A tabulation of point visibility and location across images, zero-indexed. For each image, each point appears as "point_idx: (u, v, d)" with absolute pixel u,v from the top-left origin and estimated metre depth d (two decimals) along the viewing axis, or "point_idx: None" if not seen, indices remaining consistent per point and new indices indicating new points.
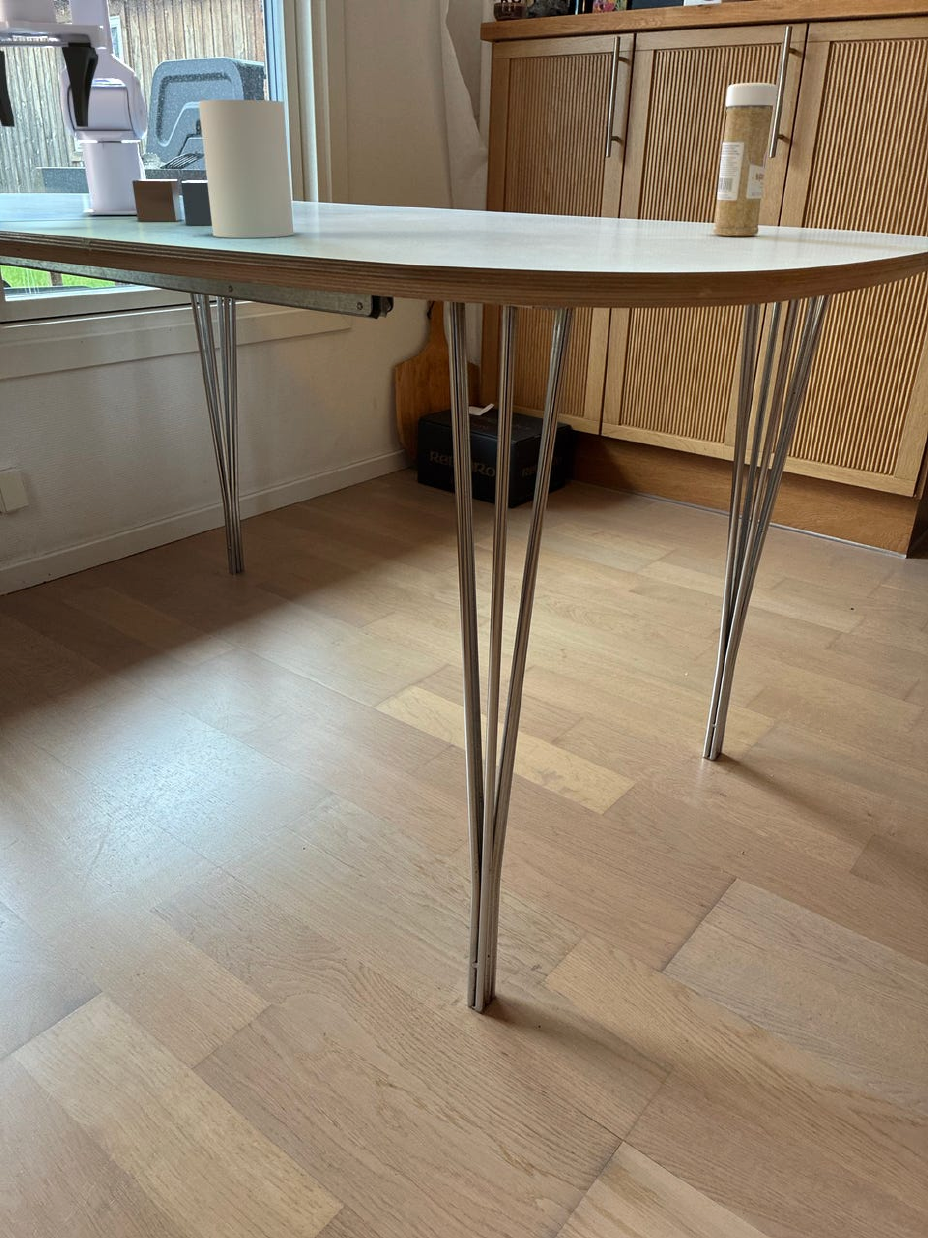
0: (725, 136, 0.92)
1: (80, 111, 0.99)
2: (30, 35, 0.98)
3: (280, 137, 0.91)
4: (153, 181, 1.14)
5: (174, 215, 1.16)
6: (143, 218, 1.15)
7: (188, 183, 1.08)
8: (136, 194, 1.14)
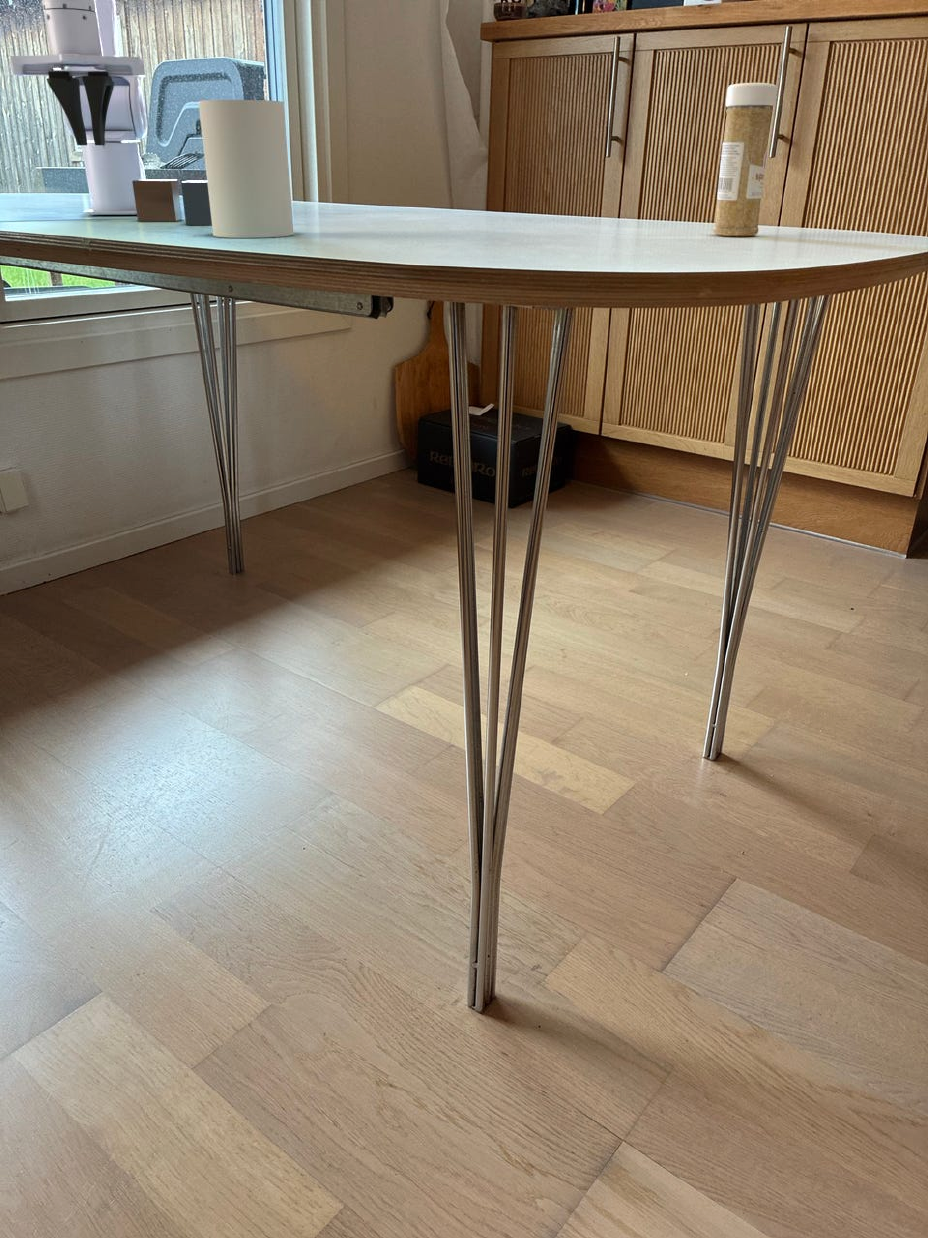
0: (725, 136, 0.92)
1: (98, 132, 1.12)
2: (78, 65, 1.11)
3: (280, 137, 0.91)
4: (153, 181, 1.14)
5: (174, 215, 1.16)
6: (143, 218, 1.15)
7: (188, 183, 1.08)
8: (136, 194, 1.14)
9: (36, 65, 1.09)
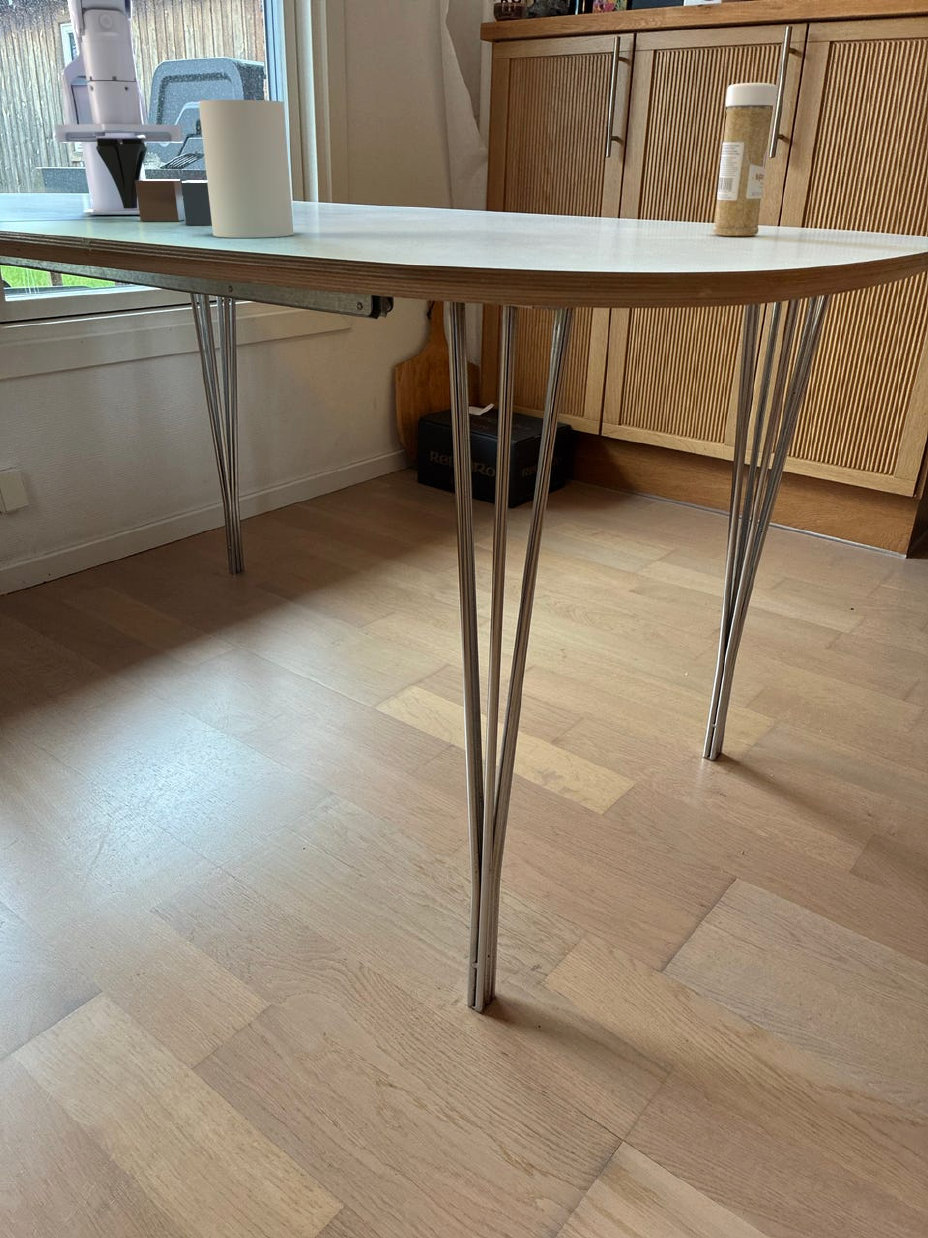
0: (725, 136, 0.92)
1: (131, 196, 1.15)
2: (119, 131, 1.15)
3: (280, 137, 0.91)
4: (156, 181, 1.14)
5: (177, 215, 1.16)
6: (146, 218, 1.15)
7: (188, 183, 1.08)
8: (139, 194, 1.14)
9: (79, 133, 1.12)
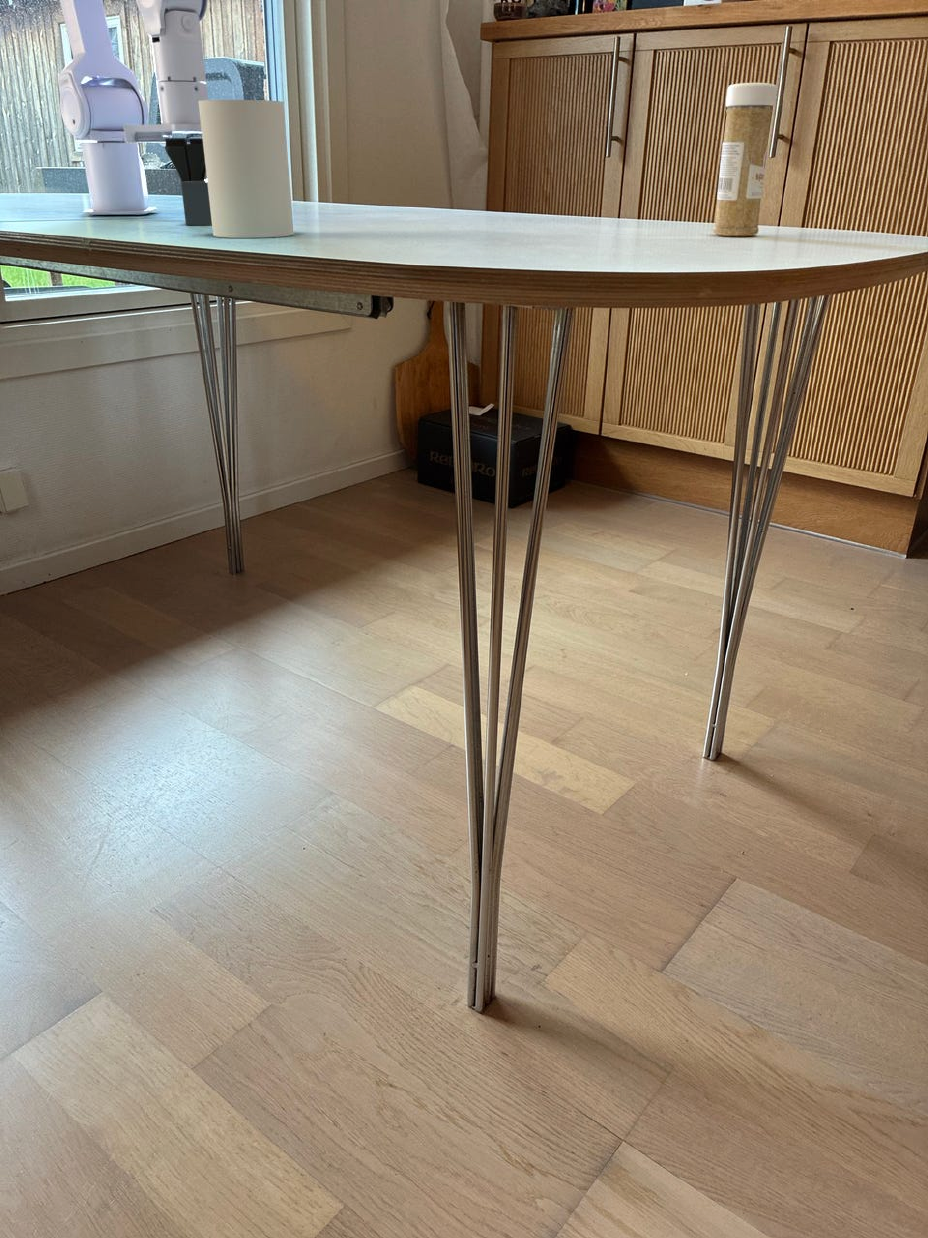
0: (725, 136, 0.92)
1: None
2: (185, 131, 1.15)
3: (280, 137, 0.91)
4: None
5: None
6: None
7: (188, 183, 1.08)
8: None
9: (147, 133, 1.13)
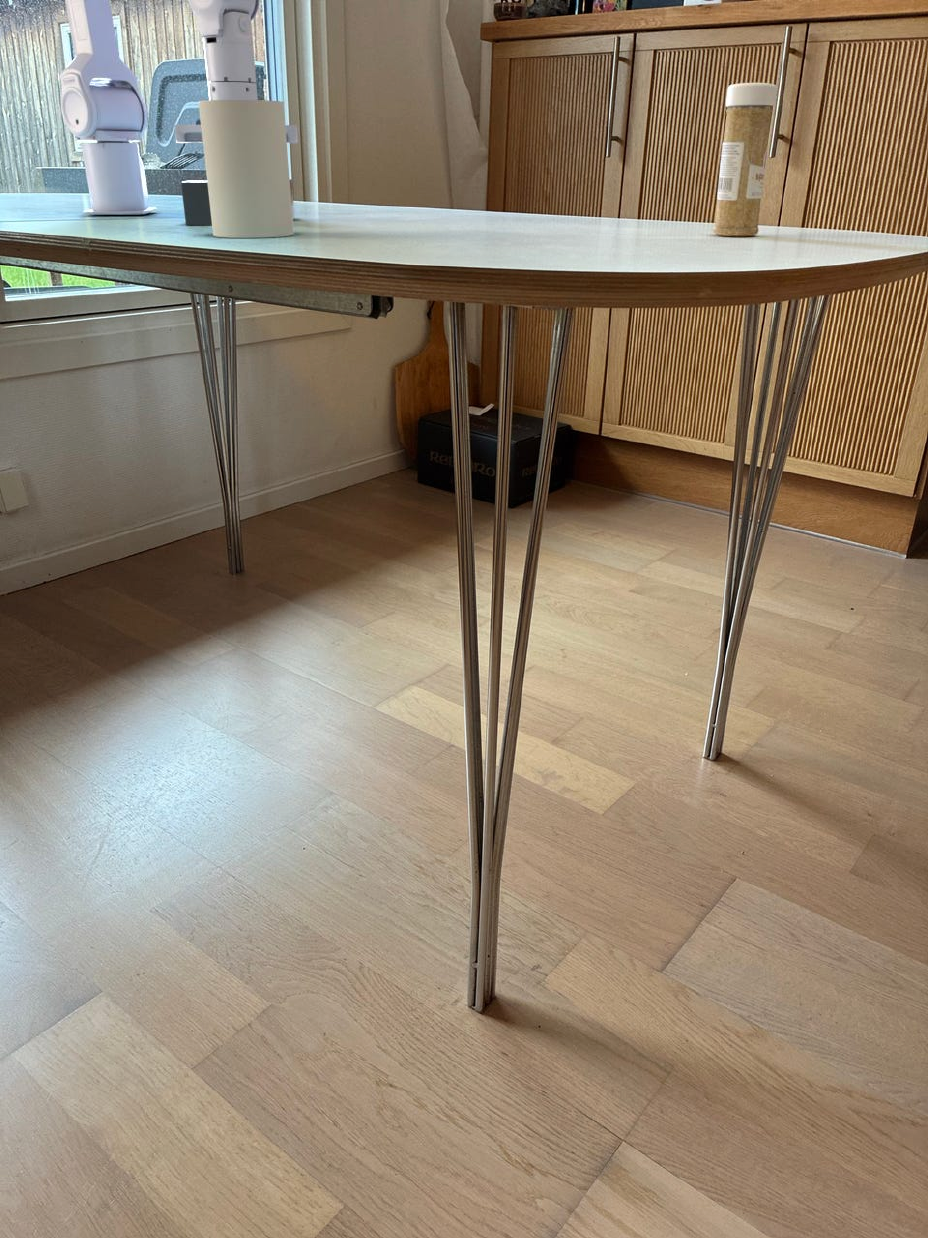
0: (725, 136, 0.92)
1: None
2: None
3: (280, 137, 0.91)
4: None
5: None
6: None
7: (188, 183, 1.08)
8: None
9: (197, 133, 1.14)
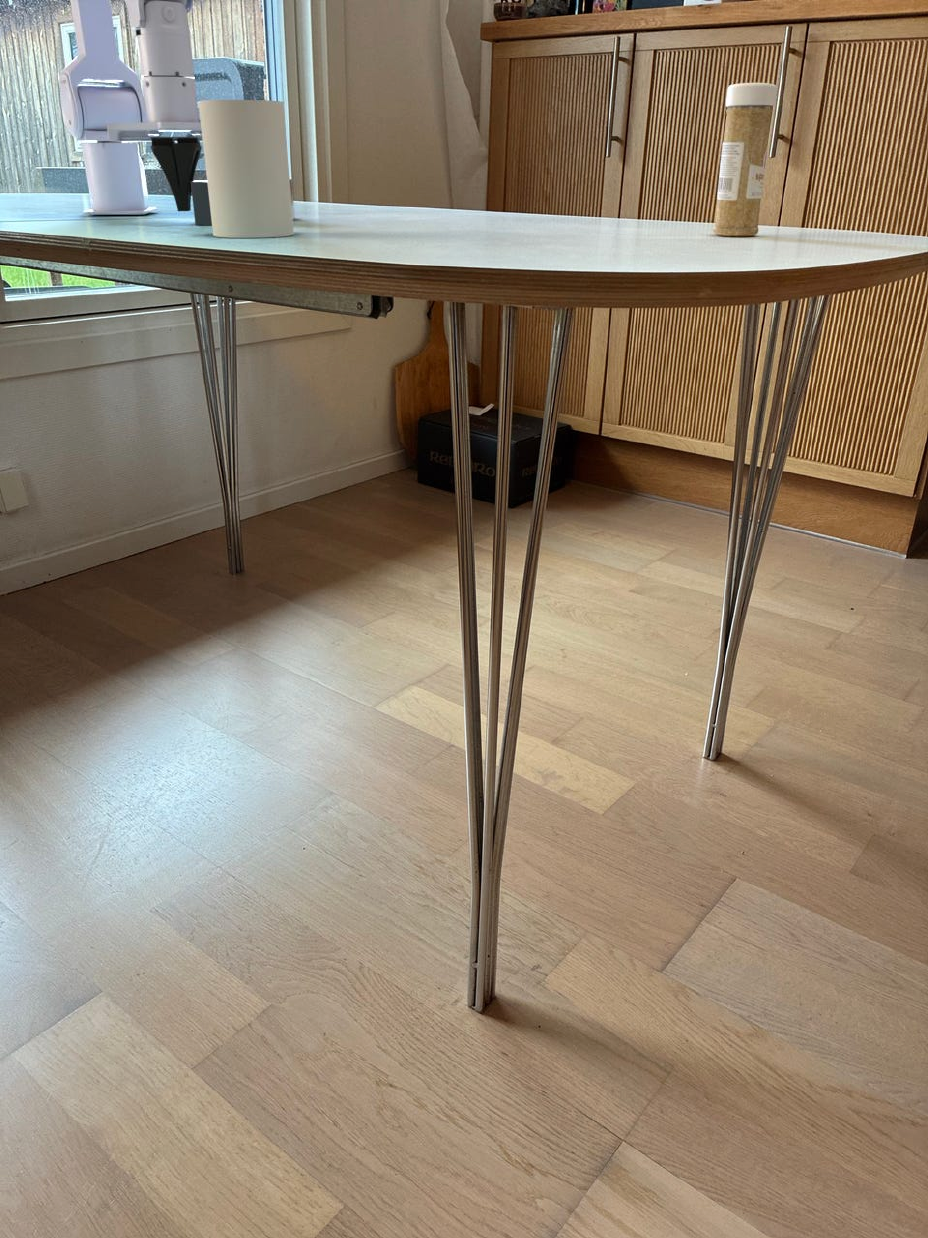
0: (725, 136, 0.92)
1: (186, 198, 1.09)
2: (173, 130, 1.09)
3: (280, 137, 0.91)
4: None
5: None
6: None
7: (198, 183, 1.08)
8: None
9: (132, 131, 1.06)
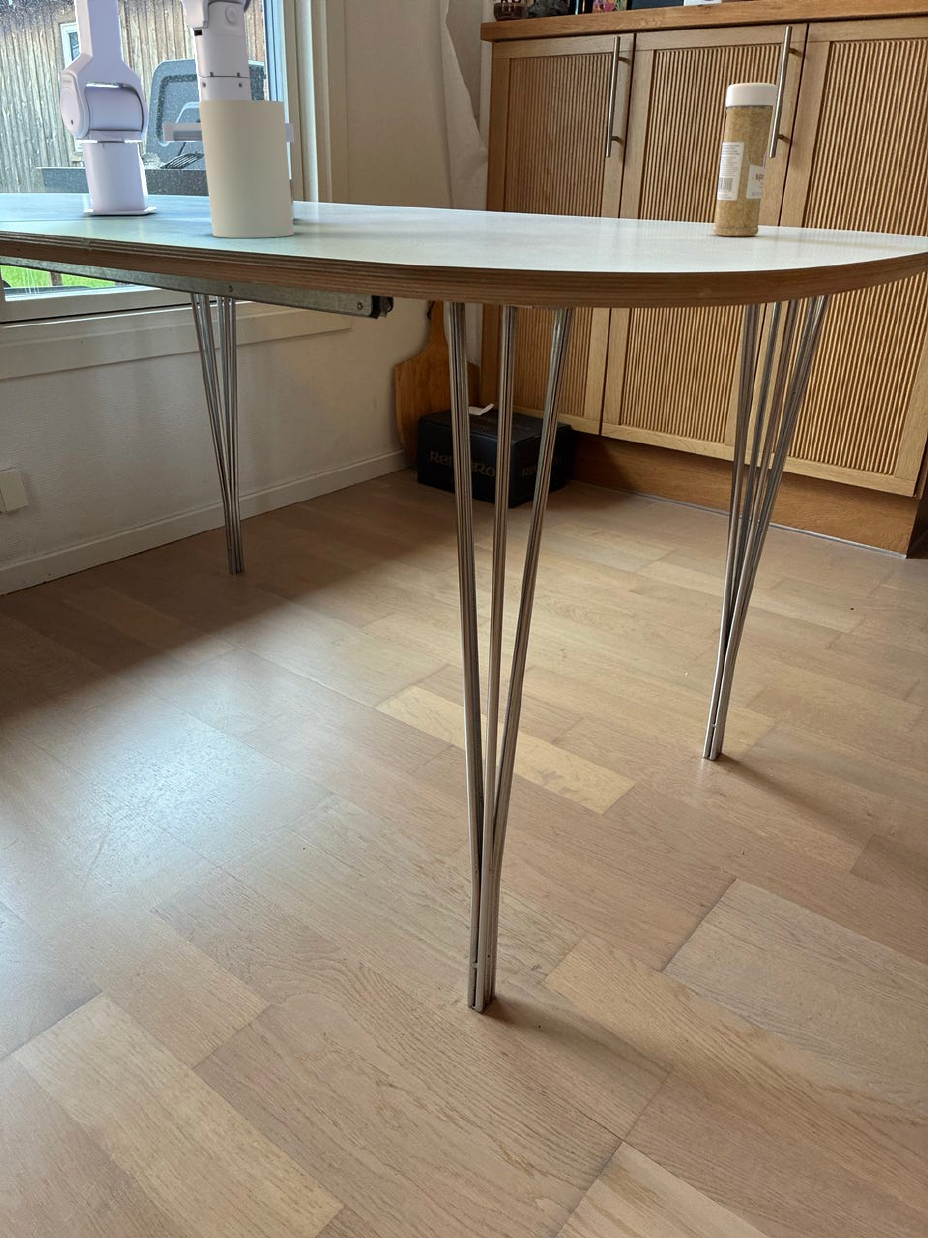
0: (725, 136, 0.92)
1: None
2: None
3: (280, 137, 0.91)
4: None
5: None
6: None
7: None
8: None
9: (187, 131, 1.07)
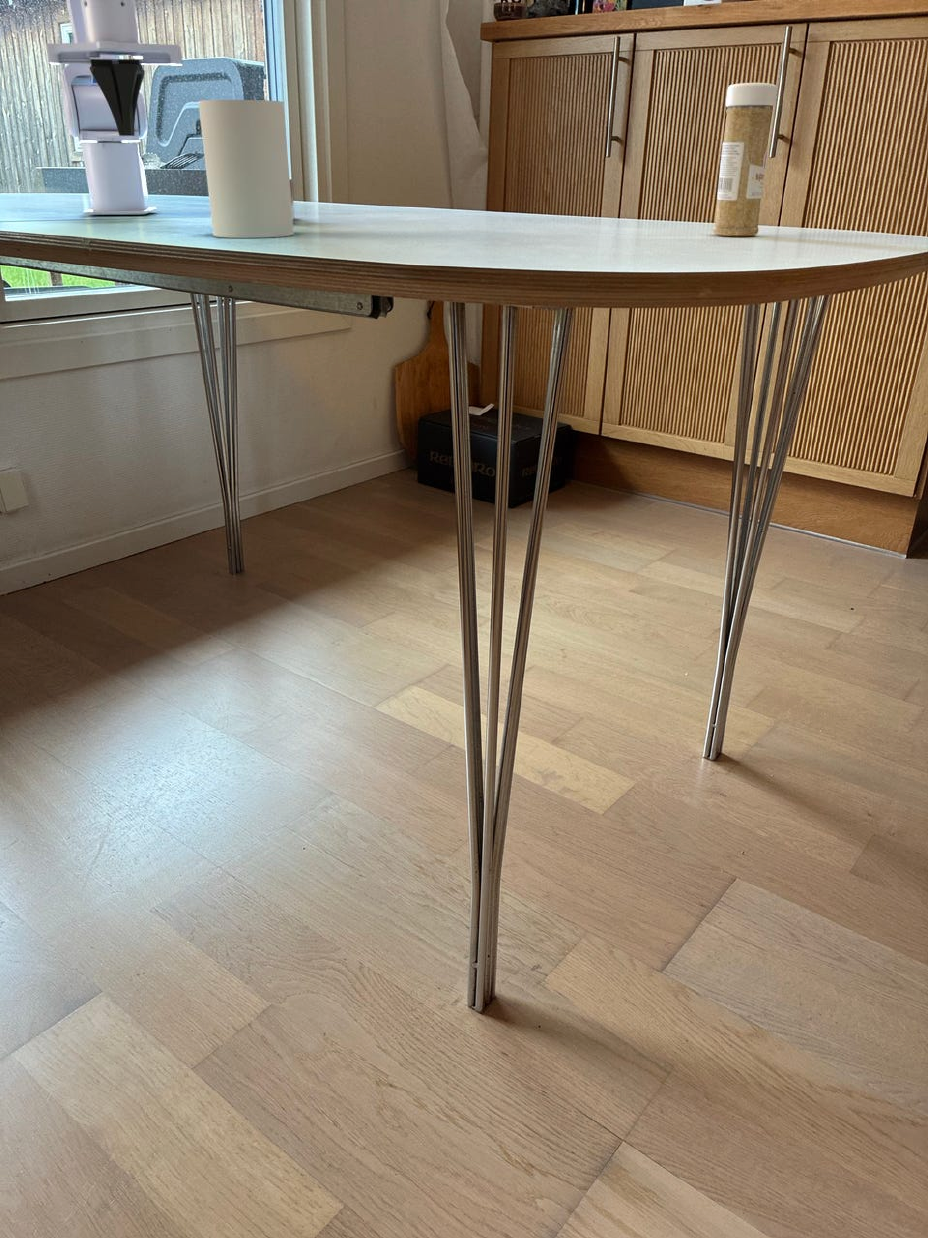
0: (725, 136, 0.92)
1: (128, 122, 1.09)
2: (114, 53, 1.09)
3: (280, 137, 0.91)
4: None
5: None
6: None
7: None
8: None
9: (72, 53, 1.06)
